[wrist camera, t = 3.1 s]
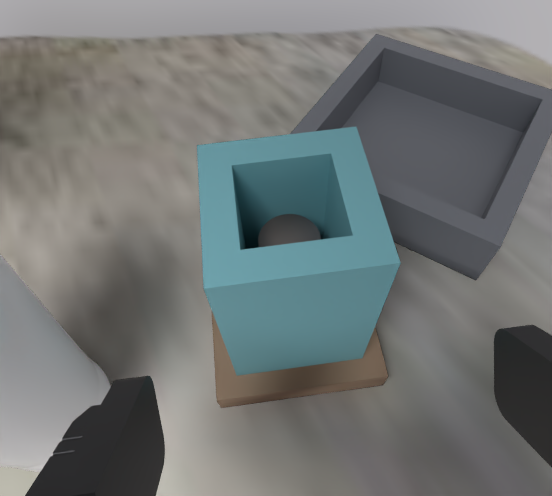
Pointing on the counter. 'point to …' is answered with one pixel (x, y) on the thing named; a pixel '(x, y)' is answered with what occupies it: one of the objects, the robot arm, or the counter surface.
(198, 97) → the counter surface
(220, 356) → the square wooden base
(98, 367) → the drinking glass
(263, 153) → the teal sleeve
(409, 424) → the counter surface
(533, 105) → the charcoal tray
